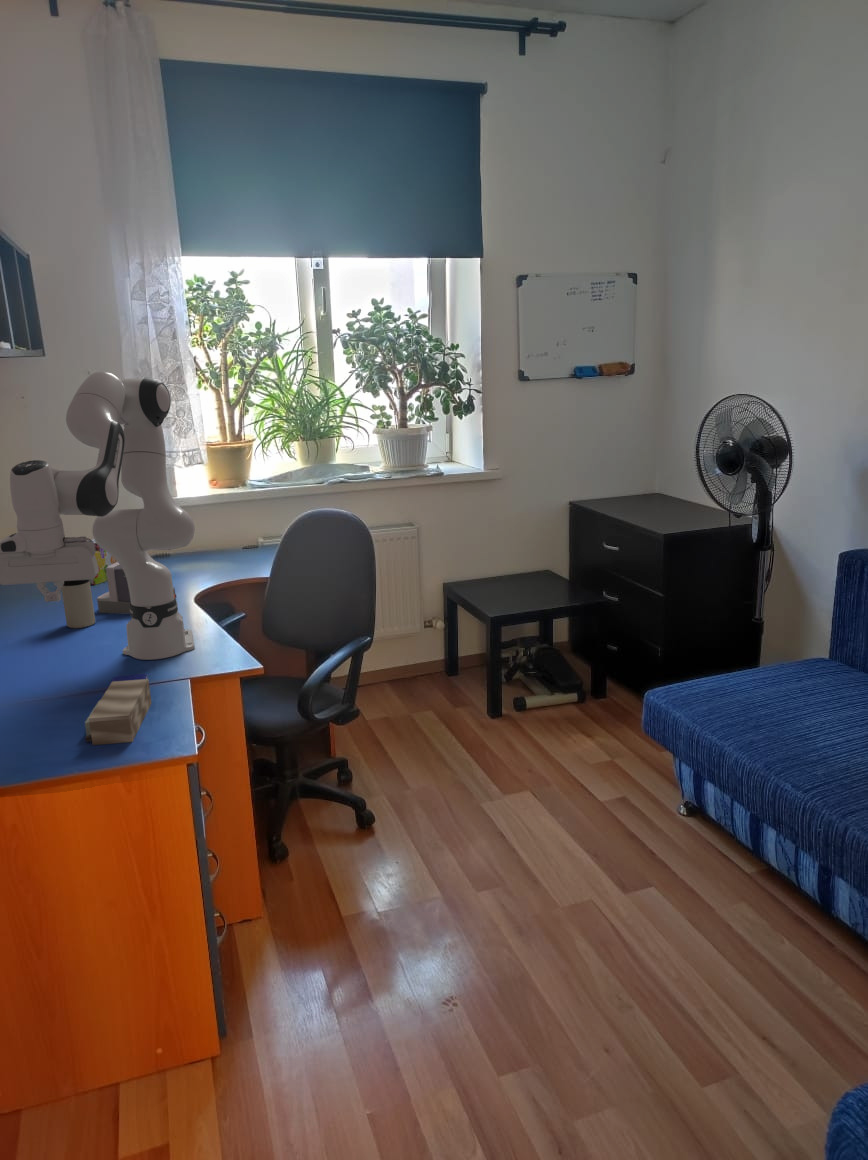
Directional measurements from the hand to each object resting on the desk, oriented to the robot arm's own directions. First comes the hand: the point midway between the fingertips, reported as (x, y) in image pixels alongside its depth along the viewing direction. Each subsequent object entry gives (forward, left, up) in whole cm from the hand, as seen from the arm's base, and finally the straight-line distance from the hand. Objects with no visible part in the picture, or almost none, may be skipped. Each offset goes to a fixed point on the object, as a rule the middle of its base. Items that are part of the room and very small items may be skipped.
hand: (53, 600), depth 184 cm
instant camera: (-85, -3, -27) cm, 90 cm away
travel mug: (-68, -16, -27) cm, 75 cm away
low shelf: (+7, +12, -27) cm, 30 cm away
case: (+8, +12, -27) cm, 30 cm away
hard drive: (-13, +9, -28) cm, 32 cm away
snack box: (-124, -20, -27) cm, 128 cm away
